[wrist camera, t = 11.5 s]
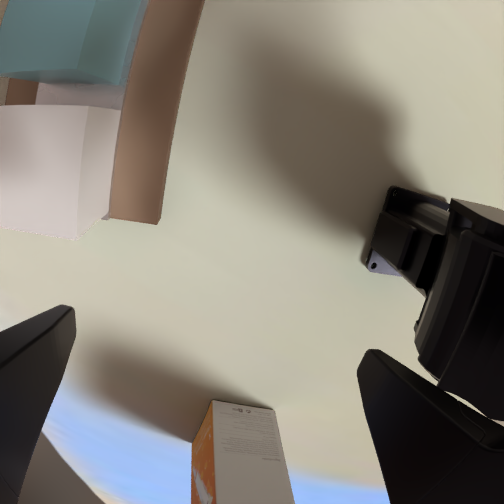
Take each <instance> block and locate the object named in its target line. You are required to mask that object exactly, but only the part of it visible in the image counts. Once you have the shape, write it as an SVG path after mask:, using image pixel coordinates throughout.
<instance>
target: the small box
mask: <svg viewBox="0 0 504 504" xmlns="http://www.w3.org/2000/svg"><path fill="white" fill-rule="evenodd" d="M191 462H192V466H191V504H295V502H294V497H293V493H292V488H291V484H290V479H289V475H288V470H287V466H286V461H285V457H284V452H283V447H282V443H281V438H280V433H279V428H278V423H277V419H276V413H275V411H274V410H270V409H263V408H257V407H250V406H244V405H238V404H233V403H226V402H221V401H215V400H212V401H211V404H210V406H209V409H208V411H207V414H206V416H205V418H204V420H203V423H202V425H201V427H200V429H199V431H198V433H197V435H196V437H195V439H194V441H193V443H192V461H191Z"/></svg>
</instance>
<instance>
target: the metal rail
mask: <svg viewBox="0 0 504 504" xmlns="http://www.w3.org/2000/svg"><path fill="white" fill-rule="evenodd" d="M150 2H151V0H141V2H140V5H139V9H138V12H137V15H136V18H135V22H134V25H133V29H132V32H131V36H130V39H129V43H128V47H127V51H126V55H125V59H124V63H123V67H122V72H121V76H120V81H119V85H107V84H79V83H49V84H45V83H40V82H39V85H38V91H37V96H36V102H35V105H78V106H93V107H100V108H108V109H115V110H121V114H120V120H119V126H118V133H117V139H116V146H115V153H114V161H113V169H112V178H111V188H110V198H109V211H108V213H107V214H106V215H105V216H103V217H102V218H101V219H103V220H109V219H110V215H111V202H112V191H113V181H114V172H115V164H116V156H117V149H118V142H119V135H120V129H121V123H122V117H123V111H124V106H125V101H126V96H127V91H128V86H129V81H130V76H131V72H132V68H133V63H134V59H135V55H136V51H137V47H138V43H139V39H140V36H141V32H142V28H143V25H144V21H145V18H146V15H147V11H148V8H149V5H150Z"/></svg>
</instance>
